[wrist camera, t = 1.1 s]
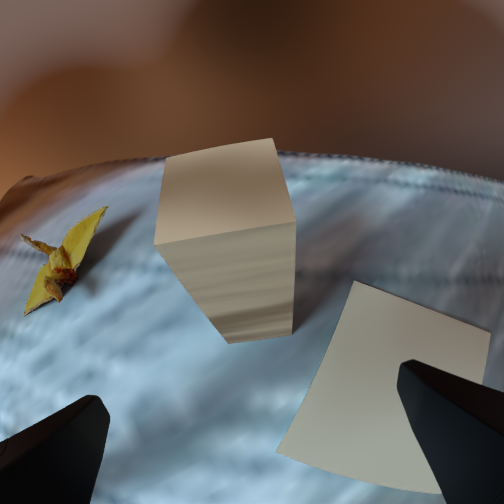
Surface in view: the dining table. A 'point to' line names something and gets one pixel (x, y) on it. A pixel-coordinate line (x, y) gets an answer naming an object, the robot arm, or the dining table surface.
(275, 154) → the birch block
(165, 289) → the dining table surface
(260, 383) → the dining table surface
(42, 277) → the origami crane
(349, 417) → the sage mat
